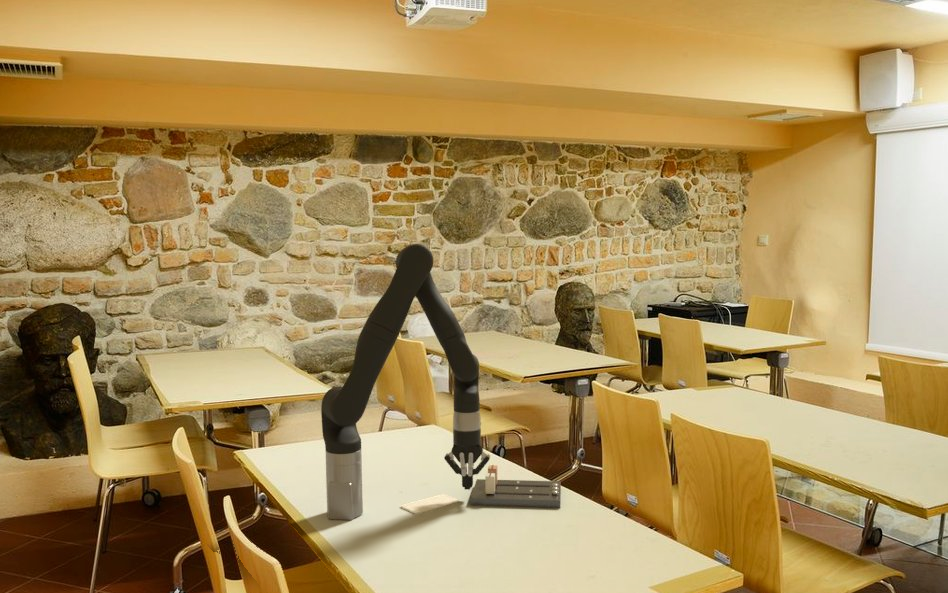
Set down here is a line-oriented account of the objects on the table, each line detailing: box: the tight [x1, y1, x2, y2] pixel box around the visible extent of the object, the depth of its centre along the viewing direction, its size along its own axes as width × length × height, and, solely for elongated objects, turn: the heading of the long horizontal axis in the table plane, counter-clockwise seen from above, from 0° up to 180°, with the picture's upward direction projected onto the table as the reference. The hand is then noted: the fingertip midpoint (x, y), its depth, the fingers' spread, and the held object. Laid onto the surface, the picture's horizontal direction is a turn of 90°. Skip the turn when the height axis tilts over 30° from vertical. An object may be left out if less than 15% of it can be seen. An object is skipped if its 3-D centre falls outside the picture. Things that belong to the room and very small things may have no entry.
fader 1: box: [487, 464, 498, 486], centre depth 227 cm, size 3×2×5 cm
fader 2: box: [485, 472, 495, 494], centre depth 220 cm, size 3×2×5 cm
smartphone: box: [400, 493, 460, 515], centre depth 218 cm, size 7×1×15 cm
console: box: [469, 478, 562, 509], centre depth 223 cm, size 16×24×3 cm, turn 84°
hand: (467, 488), depth 221 cm, fingers closed
